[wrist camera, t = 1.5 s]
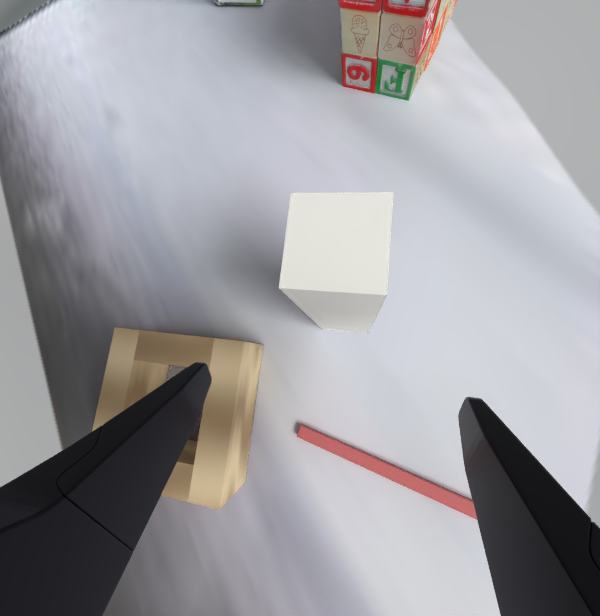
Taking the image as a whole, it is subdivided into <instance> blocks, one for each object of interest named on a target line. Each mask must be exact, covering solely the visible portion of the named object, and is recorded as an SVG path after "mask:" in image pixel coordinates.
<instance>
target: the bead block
mask: <svg viewBox="0 0 600 616" xmlns="http://www.w3.org/2000/svg"><path fill="white" fill-rule="evenodd" d="M262 350H263V345H262V344H256V343H250V342H245V341H236V340H227V339H218V338H208V337H199V336H190V335H181V334H172V333H163V332H153V331H144V330H135V329H126V328H117V327H115V329H114V333H113V338H112V343H111V347H110V352H109V356H108V361H107V365H106V370H105V374H104V379H103V383H102V388H101V392H100V397H99V401H98V406H97V411H96V415H95V420H94V424H93V429H92V431H94V430H95V429H97V428H98V427H100V426H102V425H103V424H104V423H106V422H107V421H109V420H110V419H112V418H113V417H115V416H116V415H118V414H119V413H121V412H122V411H124V410H125V409H126V408H128V407H129V406H131V405H132V404H134V403H135V402H137V401H138V400H140V399H141V398H143V397H144V396H146V395H147V394H149V393H150V392H152V391H153V390H155V389H156V388H158V387H159V386H160V385H162V384H163V383H165V382H166V379H167V374H168V369H169V365H175V366H182V367H189V366H190V365H192V364H193V363H195V362H203V363H206V364H207V365H208V368H209V371H210V374H211V377H212V382H211V385H210V388H209V391H208V393H207V396H206V399H205V402H204V405H203V411H202V418H201V424H200V430H199V436H198V441H194V440H189V439H188V441H187V443H186V445H185V447H184V449H183V451H182V453H181V455H180V457H179V459H178V461H177V463H176V465H175V467H174V469H173V472H172V474H171V476H170V478H169V480H168V482H167V484H166V486H165V488H164V490H163V492H162V494H161V496H165V497H169V498H173V499H177V500H181V501H185V502H189V503H193V504H198V505H202V506H206V507H210V508H214V509H218V510H220V509H221V508H222V507H223V505H224V504H225V503H226V502H227V501H228V500H229V499H230V498H231V497H232V496H233V494H234V493H235V492H236V491H237V490H238V489H239V488H240V487H241V486H242V485H243V483H244V482H245V478H246V471H247V463H248V456H249V448H250V440H251V433H252V425H253V418H254V410H255V403H256V395H257V388H258V380H259V373H260V365H261V358H262Z"/></svg>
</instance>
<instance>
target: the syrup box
mask: <svg viewBox="0 0 600 616" xmlns="http://www.w3.org/2000/svg"><path fill="white" fill-rule="evenodd" d="M214 2H215V4H216V5H263V3H264V0H214Z"/></svg>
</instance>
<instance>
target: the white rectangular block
mask: <svg viewBox="0 0 600 616" xmlns="http://www.w3.org/2000/svg"><path fill="white" fill-rule="evenodd" d="M392 207H393V192H353V193H291V196H290V204H289V212H288V219H287V227H286V235H285V243H284V251H283V258H282V266H281V274H280V282H279V289H280V290H281V291H282V292H283V293H284V294H285V295H286V296H288V297H289V298H290V299H291V300H292V301H293V302H294V303H295V304H296V305H297V306H298V307H299V308H300V309H301V310H302V311H303V312H304V313H305V314H306V315H308V316H309V317H310V318H311V319H312V320H313V321H314V322H315V323H316V324H317V325H318V326H319V327H320V328H321V329H328V330H339V331H350V332H360V333H369V331H370V329H371V327H372V325H373V323H374V321H375V319H376V317H377V315H378V313H379V310H380V308H381V306H382V304H383V302H384V300H385V298H386V296H387V285H388V270H389V254H390V238H391V222H392Z"/></svg>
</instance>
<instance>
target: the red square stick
mask: <svg viewBox="0 0 600 616" xmlns="http://www.w3.org/2000/svg"><path fill="white" fill-rule="evenodd" d="M297 437H299V438H301V439H303V440H305V441H308V442H310V443H312V444H314V445H316V446H318V447H321V448H323V449H325V450H327V451H329V452H331V453H334V454H336V455H338V456H340V457H342V458H344V459H347V460H349V461H351V462H353V463H355V464H357V465H360V466H362V467H364V468H366V469H368V470H371V471H373V472H375V473H377V474H379V475H381V476H384V477H386V478H388V479H390V480H392V481H394V482H397V483H399V484H401V485H403V486H405V487H407V488H410V489H412V490H414V491H416V492H418V493H420V494H423V495H425V496H427V497H429V498H431V499H434V500H436V501H438V502H440V503H442V504H444V505H447V506H449V507H451V508H453V509H455V510H457V511H460V512H462V513H464V514H466V515H468V516H470V517H473V518H475V519H477V516H476V512H475V508H474V504H473V501H472V500H470V499H468V498H465V497H463V496H461V495H459V494H456V493H454V492H452V491H450V490H447V489H445V488H443V487H441V486H438V485H436V484H434V483H432V482H430V481H427V480H425V479H423V478H421V477H418V476H416V475H414V474H412V473H409V472H407V471H405V470H403V469H400V468H398V467H396V466H394V465H391V464H389V463H387V462H385V461H383V460H380V459H378V458H376V457H374V456H371V455H369V454H367V453H365V452H362V451H360V450H358V449H356V448H353V447H351V446H349V445H347V444H344V443H342V442H340V441H338V440H336V439H333V438H331V437H329V436H327V435H324V434H322V433H320V432H318V431H315V430H313V429H311V428H309V427H306V426H304V425H301V426H300V429H299V432H298V435H297Z"/></svg>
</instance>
